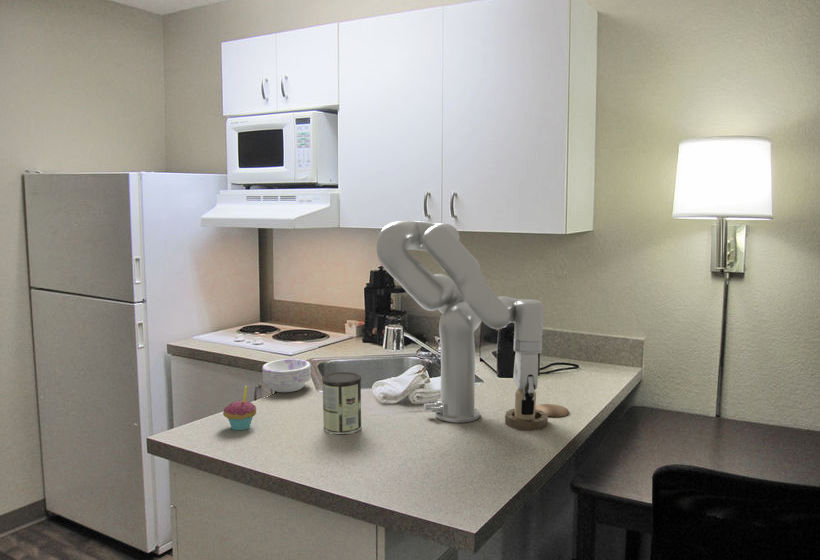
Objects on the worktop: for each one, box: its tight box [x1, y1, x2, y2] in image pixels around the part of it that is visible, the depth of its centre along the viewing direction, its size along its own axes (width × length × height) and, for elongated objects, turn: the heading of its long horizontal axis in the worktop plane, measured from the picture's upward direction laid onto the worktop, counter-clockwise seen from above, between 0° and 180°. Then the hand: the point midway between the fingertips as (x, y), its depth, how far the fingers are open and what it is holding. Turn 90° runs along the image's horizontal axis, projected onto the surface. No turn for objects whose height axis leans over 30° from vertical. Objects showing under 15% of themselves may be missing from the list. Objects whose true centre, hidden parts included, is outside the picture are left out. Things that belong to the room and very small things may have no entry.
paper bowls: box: [261, 358, 312, 393], centre depth 215 cm, size 15×15×8 cm
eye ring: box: [504, 408, 549, 432], centre depth 184 cm, size 11×11×2 cm
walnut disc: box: [535, 403, 569, 418], centre depth 194 cm, size 10×10×1 cm
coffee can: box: [321, 371, 362, 435], centre depth 179 cm, size 10×10×14 cm
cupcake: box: [222, 383, 257, 431], centre depth 180 cm, size 9×8×12 cm
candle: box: [514, 387, 537, 420], centre depth 184 cm, size 6×6×10 cm
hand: (525, 409), depth 184 cm, fingers closed on candle, 5 cm apart
